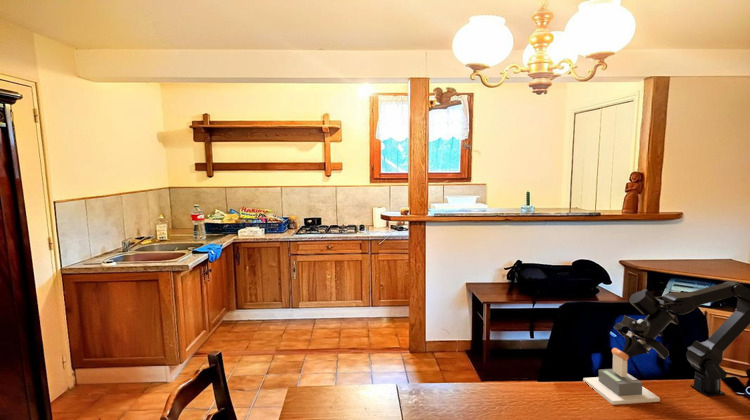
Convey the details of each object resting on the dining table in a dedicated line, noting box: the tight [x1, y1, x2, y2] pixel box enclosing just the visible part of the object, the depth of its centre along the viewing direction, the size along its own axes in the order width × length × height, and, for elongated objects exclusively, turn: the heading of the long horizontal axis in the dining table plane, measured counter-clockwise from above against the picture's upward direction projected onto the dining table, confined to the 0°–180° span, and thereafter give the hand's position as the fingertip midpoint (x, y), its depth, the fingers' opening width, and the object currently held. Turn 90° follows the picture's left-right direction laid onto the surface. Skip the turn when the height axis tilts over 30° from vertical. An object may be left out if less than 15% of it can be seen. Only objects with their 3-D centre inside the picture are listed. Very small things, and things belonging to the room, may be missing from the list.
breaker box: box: [582, 368, 661, 406], centre depth 130 cm, size 16×15×5 cm
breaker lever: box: [611, 347, 630, 377], centre depth 129 cm, size 2×5×8 cm, turn 5°
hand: (622, 357), depth 129 cm, fingers closed, pressing on breaker lever
